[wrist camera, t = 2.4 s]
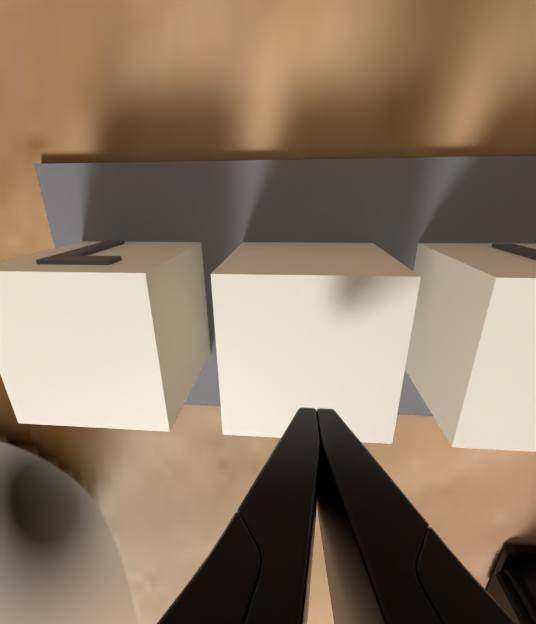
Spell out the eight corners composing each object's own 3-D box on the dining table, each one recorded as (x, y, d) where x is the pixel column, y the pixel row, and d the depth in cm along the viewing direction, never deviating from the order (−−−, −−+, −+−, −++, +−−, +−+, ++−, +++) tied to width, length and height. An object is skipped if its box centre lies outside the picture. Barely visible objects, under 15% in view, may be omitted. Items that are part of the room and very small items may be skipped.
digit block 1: (561, 240, 14) (744, 275, 8) (521, 363, 16) (642, 457, 10) (418, 239, 14) (497, 272, 9) (399, 359, 16) (451, 446, 11)
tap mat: (621, 154, 13) (631, 153, 12) (527, 416, 17) (532, 420, 17) (40, 164, 15) (33, 163, 14) (97, 395, 19) (93, 400, 19)
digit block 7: (201, 238, 15) (144, 268, 9) (210, 353, 17) (169, 431, 12) (81, 238, 15) (-40, 266, 10) (106, 349, 18) (18, 423, 12)
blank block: (372, 242, 14) (420, 276, 9) (360, 358, 17) (392, 443, 11) (242, 242, 15) (210, 274, 9) (246, 354, 17) (223, 434, 11)
